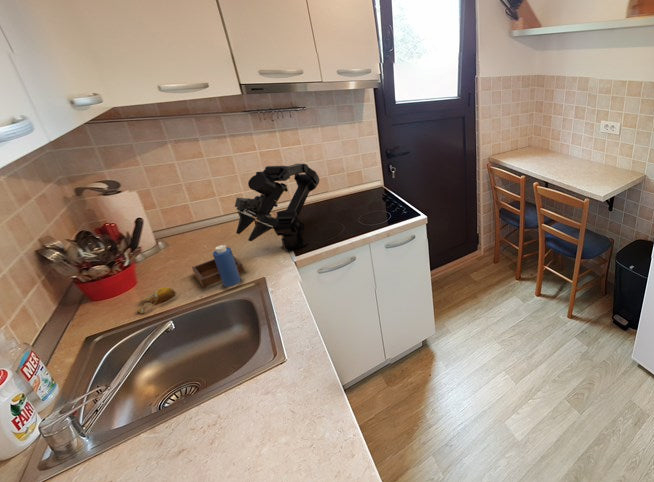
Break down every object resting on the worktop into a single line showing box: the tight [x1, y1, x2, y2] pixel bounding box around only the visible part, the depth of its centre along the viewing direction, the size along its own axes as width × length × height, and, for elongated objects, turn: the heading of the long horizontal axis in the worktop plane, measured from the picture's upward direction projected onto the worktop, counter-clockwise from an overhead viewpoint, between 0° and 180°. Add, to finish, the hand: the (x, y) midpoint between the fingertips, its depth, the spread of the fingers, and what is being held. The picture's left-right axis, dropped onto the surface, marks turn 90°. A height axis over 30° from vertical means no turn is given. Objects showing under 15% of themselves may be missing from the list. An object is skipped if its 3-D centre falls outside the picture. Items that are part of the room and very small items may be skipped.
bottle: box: [212, 244, 242, 288], centre depth 108 cm, size 5×5×15 cm
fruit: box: [138, 287, 176, 314], centre depth 103 cm, size 8×8×4 cm
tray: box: [191, 255, 245, 288], centre depth 115 cm, size 12×12×4 cm
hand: (243, 237), depth 115 cm, fingers open, 9 cm apart
